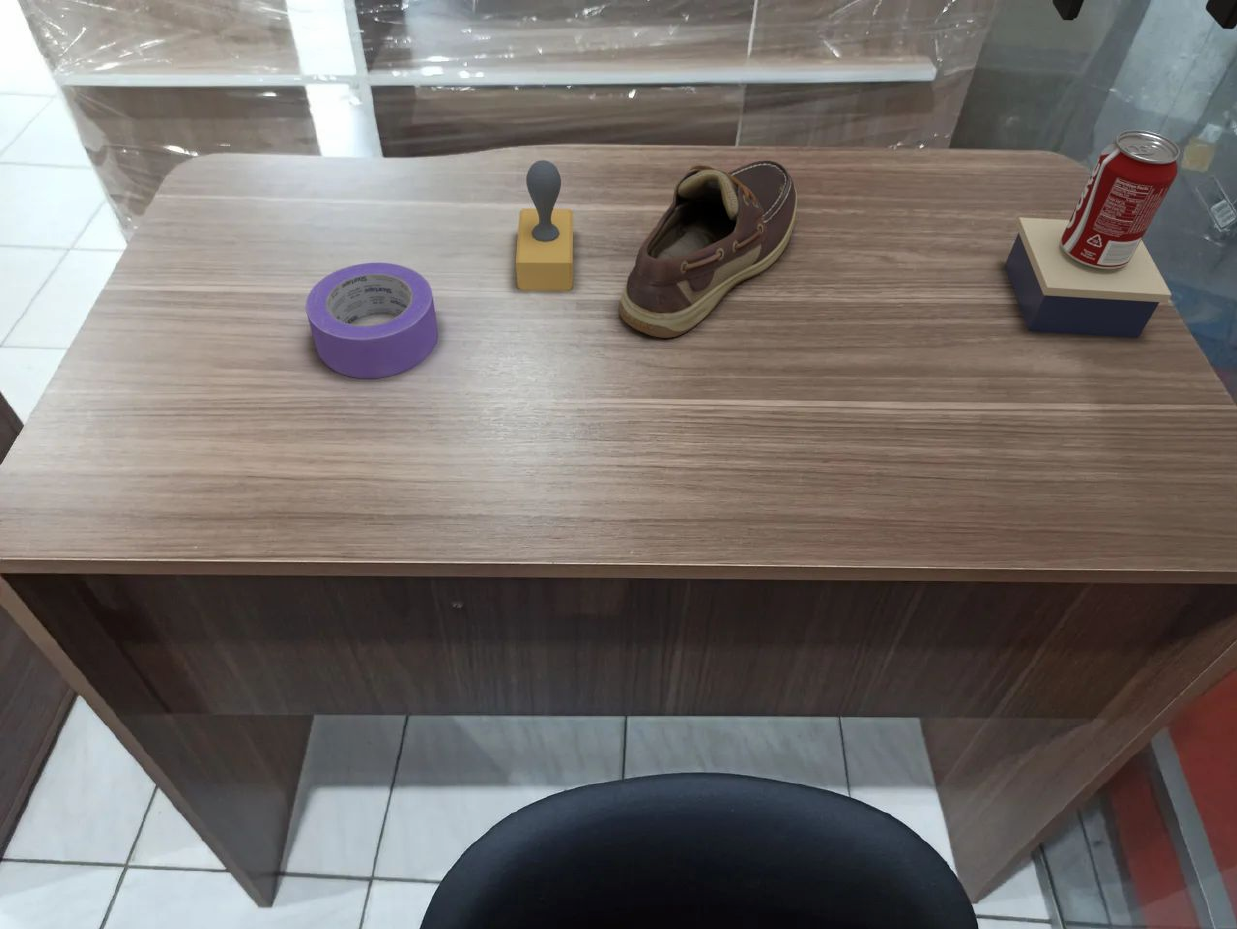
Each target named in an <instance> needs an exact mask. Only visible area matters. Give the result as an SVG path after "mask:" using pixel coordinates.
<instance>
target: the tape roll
mask: <svg viewBox="0 0 1237 929" xmlns="http://www.w3.org/2000/svg"><path fill="white" fill-rule="evenodd" d="M433 296H434V294H433V290H432V287H431V285H430V283H429V281H428V280H427V279H426V277H424V276H423V275H422V274H421V273H419V272H417V271H415V270H414V269H412V268H410V267H407V266H404V265H401V264H397V263H390V262H365V263H364V262H363V263H358V264H354V265H349V266H346V267H344V268H340V269H338V270H336V271H333V272H331V273H330V274H327V275H326V276H324V277H323V278H322V279H320V280H319V281H318V282H317V283H316V284H315V285H314V286H313V287H312V288H311V290H310V291H309V293H308V295H307V298H306V301H305V313H306V316H307V319H308V322H309V327H310V329H311V333H312V336H313V337H312V338H313V341H314V344H315V348H316V351H317V355H318V357H319V358H320V360H321V361H322V362H323V364H324V365H326V367H328V368H330V369H331V370H332V371H334V372H336V373H338V374H340V375H343V376H346V377H351V378H354V379H355V378H356V379H366V380H367V379H383V378H387V377H392V376H396V375H399V374H402V373H404V372H407V371H409V370H411V369H414V368H415V367H416V366H418V365H419V364H421V363H422V362H424V361H425V360H426V359H427V358H428V357H429V356H430V355H431V353H433V351H434V348H435V347H436V345H437V343H438V338H439V331H438V329H439V328H438V324H437V317H436V311H435V302H434V297H433ZM377 314H389V315H396V316H395V317H393V318H392V319H388V320H386V321H383V322H380V323H375V324H374V323H373V324H365V325H363V324H353V323H352V322H354V321H356V320H358V319H361V318H363V317H366V316H370V315H377Z"/></svg>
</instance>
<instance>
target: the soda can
mask: <svg viewBox="0 0 1237 929" xmlns="http://www.w3.org/2000/svg"><path fill="white" fill-rule="evenodd" d="M1115 137H1116V138H1115V139H1114V142H1112V143H1111V144H1109V145H1107V146H1106V147H1105V148H1104V149H1103V150H1102V151H1101V153H1100V155H1099V157H1098V159H1097V161H1096V163H1095V165H1094V167H1093V169H1092V172H1091V174H1090V175H1089V178H1088V180H1087V182H1086V184H1085V187H1084V189H1083V191H1082V193H1081V195H1080V197H1079V200H1078V202H1077V204H1076V205H1075V208H1074V210H1073V212H1072V214H1071V217H1070V218H1069V220H1070V221H1069V223H1068V225H1067V227H1066V229H1065V231H1064V233H1063V236H1062V238H1061V246H1062V248H1063V250H1064V251H1065V252H1066V253H1067V254H1068V255H1069V256H1070V257H1071V258H1073V259H1074V260H1075V261H1076V262H1078V263H1080V264H1082V265H1084V266H1087V267H1091V268H1095V269H1116V268H1120V267H1122V266H1124V265H1126V264H1127V263H1128V262H1129V261H1130V259H1131V258H1132V256H1133V254H1134V252H1135V250H1136V248H1137V247H1138V245H1139V243H1140V241H1141V239H1143V238H1144V236H1145V234H1146V232H1147V230H1148V228H1149V226H1150V225H1151V223H1152V221H1153V219H1154V217H1155V216H1156V214H1157V212H1158V210H1159V208H1160V206H1161V205H1162V203H1163V201H1164V200H1165V197H1166V196H1167V194H1168V192H1169V191H1170V188H1171V186H1172V185H1173V183H1174V181H1175V179H1176V177H1177V175H1178V163H1177V159H1178V158H1179V156H1180V153H1181V150H1180V147H1179V146H1178V145H1177V144H1176V143H1175V141H1173V140H1172V139H1171V138H1169V137H1166V136H1164V135H1163V134H1159V133H1157V132H1153V131H1149V130H1143V129H1129V130H1124V131H1121V132H1120V133H1118V134H1117V136H1115Z"/></svg>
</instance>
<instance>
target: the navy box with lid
mask: <svg viewBox="0 0 1237 929" xmlns="http://www.w3.org/2000/svg"><path fill="white" fill-rule="evenodd" d="M1069 221H1070V219H1057V218H1055V219H1054V218H1038V217H1021V216H1019V217H1018V219H1017V222H1016V224H1015V227H1016V229H1017V231H1018V233H1017V234H1016V235H1017V236H1016V237H1015V240H1014V242H1013V245H1012V246H1011V249H1010V251H1009V253H1008V256H1007V259H1006V261H1005V263H1004V268H1005V271H1006V274H1007V277H1008V280H1009V282H1010V285H1011V287H1012V290H1013V293H1014V295H1015V299H1016V301H1017V304H1018V307H1019V309H1020V313H1021V315H1022V317H1023V320H1024V324H1025V326H1026V329H1027V331H1028V332H1035V333H1049V334H1051V333H1053V334H1055V333H1056V334H1065V335H1066V334H1067V335H1081V336H1083V335H1084V336H1098V337H1099V336H1101V337H1114V338H1115V337H1116V338H1117V337H1118V338H1131V339H1132V338H1133V339H1139V338H1140V336H1141V334H1142V333H1143V331H1144V329H1145V328H1146V326H1147V325H1148V323H1149V321H1150V319H1151V318H1152V316H1153V314H1154V313H1155V311H1156V309H1157V307H1158V306H1159V304H1160V303H1165V304H1166V303H1168V302H1169V300H1170V299H1171V297H1172V295H1173V294H1172V293H1171V291H1170V289H1169V287H1168V285H1167V283H1166V282H1165V279H1164V278H1163V276H1162V273H1161V272H1160V270H1159V268H1158V266H1157V265H1156V263H1155V261H1154V260H1153V258H1152V255H1151V254H1150V252H1149V251H1148V249H1147V246H1146V245H1145V243H1144V242H1143V240H1142V239H1143V238H1142V239H1141V241H1140V243H1139V245H1138V247H1137V248H1136V250H1135V252H1134V254H1133V256H1132V258H1131V259H1130V261H1129V262H1128V263H1127V264H1126V265H1124V266H1122V267H1120V268H1116V269H1095V268H1091V267H1087V266H1084V265H1082V264H1080V263H1078V262H1076V261H1075V260H1074V259H1073V258H1071V257H1070V256H1069V255H1068V254H1067V253H1066V252H1065V251H1064V250H1063V248H1062V246H1061V238H1062V236H1063V233H1064V231H1065V229H1066V227H1067V225H1068V223H1069Z"/></svg>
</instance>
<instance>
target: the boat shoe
mask: <svg viewBox="0 0 1237 929" xmlns="http://www.w3.org/2000/svg"><path fill="white" fill-rule="evenodd" d="M797 208H798V192H797V189H796V187H795V183H794V181H793V178H792V176H791V175H790V173H789V171H788V170H787V168H786V167H785V166H783V165H782V164H780V163H779V162H777V161H773V160H768V159H767V160H766V159H764V160H756V161H754V162H750V163H748V164H746V165H742V166H740V167H738V168H735V169H733V170H731V171H729V172H727V171H723V170H720V169H716V168H714V167H712V166H710V165H706V164H700V163H699V164H697V163H696V164H694V165H692V166H691V167H690V168H689V171H688V172H686V173H685V174H684V175H683V176H682V177H681V178H680V179H679V181H678V182H677V184H676V185H675V187H674V191H673V198H672V203H671V204H670V205H669V207H668V208H667V209H666V211H665V212H664V213H663V215H662V216H661V217H660V219H659V221H658V222H657V224H656V225H655V227H653V229H652V230H651V231H650V232H649V233H648V235H646V237H645V239H644V240H643V241H642V244H641V246H640V247H639V249H638V251H637V254H636V258H635V263H634V266H633V268H632V270H631V271H630V273H629V275H628V278H627V280H626V281H627V282H626V283H625V285H624V289H623V291H622V294H621V298H620V300H619V306H618V312H619V316H620V317H621V319H622V320H623V321H624V322H625V323H626V324H627V325H629V326H630V327H631V328H633V329H635V330H636V331H638V332H641V333H644V334H646V335H648V336H651V337H656V338H661V339H669V338H675V337H678V336H680V335H683V334H685V333H687V332H689V331H690V330H691V329H693V328H695V327H696V326H697V325H698V324H700V323H702V321H703V320H705V318H707V317H708V316H709V315H711V313H712V312H713V310H714V309H715V308H716V307H717V306H718V305H719V303H720V302H721V301H722V300H723V298H724V297H725V296H726V295H727V293H729V292H730V291H731V290H732V289H734V287H735V286H737V285H739V284H740V283H742V282H744V281H745V280H749V279H751V278H753V277H755V276H757V275H761V274H762V273H764V272H765V271H767V270H768V269H769V268H771V266H773V265H774V264H775V262H776V261H777V260H779V258H780V256H781V255H782V254H783V253H784V250H785V249H786V247H787V245H788V243H789V241H790V238H791V236H792V233H793V230H794V226H795V222H796V218H797V217H796V216H797Z"/></svg>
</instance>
